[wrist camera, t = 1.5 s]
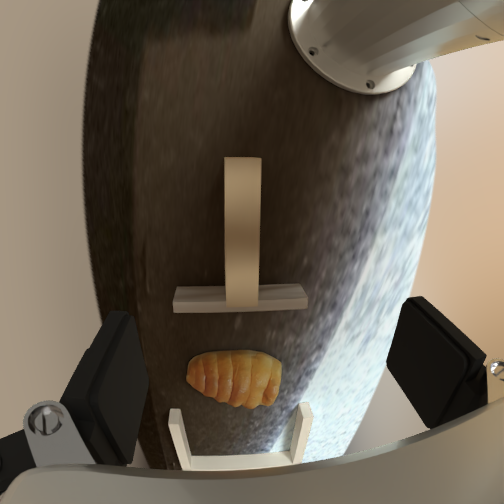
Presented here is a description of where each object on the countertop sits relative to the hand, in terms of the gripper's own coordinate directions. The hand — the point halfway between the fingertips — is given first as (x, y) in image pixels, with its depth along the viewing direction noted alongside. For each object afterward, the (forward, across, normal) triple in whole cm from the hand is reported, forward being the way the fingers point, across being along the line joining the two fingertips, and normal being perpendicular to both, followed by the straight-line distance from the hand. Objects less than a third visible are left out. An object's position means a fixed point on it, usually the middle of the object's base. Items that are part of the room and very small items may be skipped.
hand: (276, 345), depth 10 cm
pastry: (+16, 0, +16) cm, 23 cm away
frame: (+16, 0, +27) cm, 31 cm away
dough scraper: (+16, 0, 0) cm, 16 cm away
